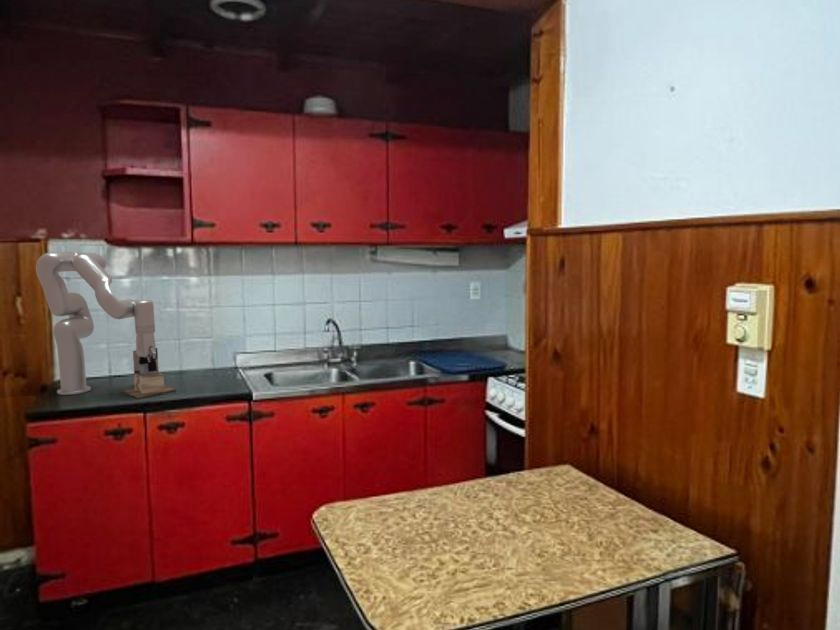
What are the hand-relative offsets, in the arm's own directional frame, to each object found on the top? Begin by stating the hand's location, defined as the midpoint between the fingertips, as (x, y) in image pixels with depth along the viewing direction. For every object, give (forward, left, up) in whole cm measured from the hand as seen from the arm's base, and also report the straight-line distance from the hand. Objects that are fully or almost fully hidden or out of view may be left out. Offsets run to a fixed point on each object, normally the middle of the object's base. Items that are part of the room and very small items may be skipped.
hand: (148, 369), depth 255 cm
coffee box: (-16, +5, -10) cm, 20 cm away
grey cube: (0, 0, -3) cm, 3 cm away
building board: (0, 0, -10) cm, 10 cm away
